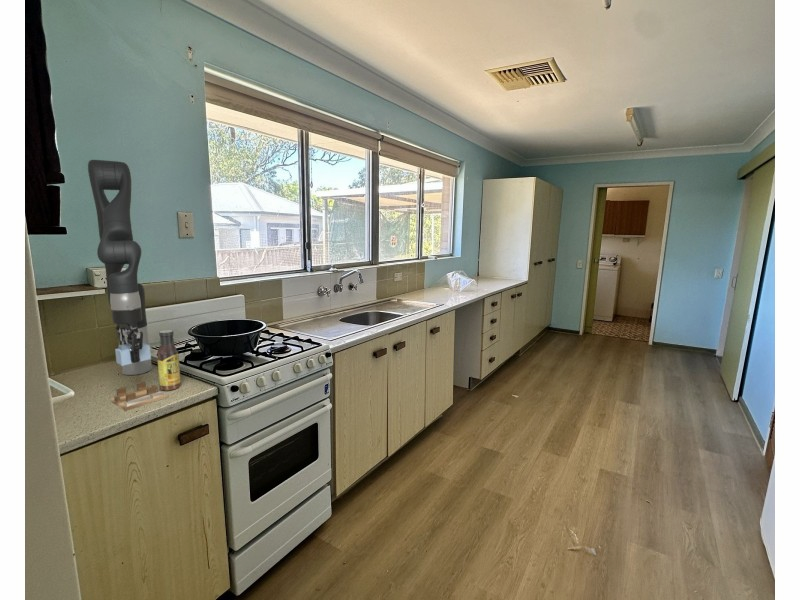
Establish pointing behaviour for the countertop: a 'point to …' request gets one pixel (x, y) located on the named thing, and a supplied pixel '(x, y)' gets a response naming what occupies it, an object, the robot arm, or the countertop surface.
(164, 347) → the sauce bottle
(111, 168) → the robot arm
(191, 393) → the countertop surface
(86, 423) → the countertop surface
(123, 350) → the light blue block
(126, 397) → the jig
